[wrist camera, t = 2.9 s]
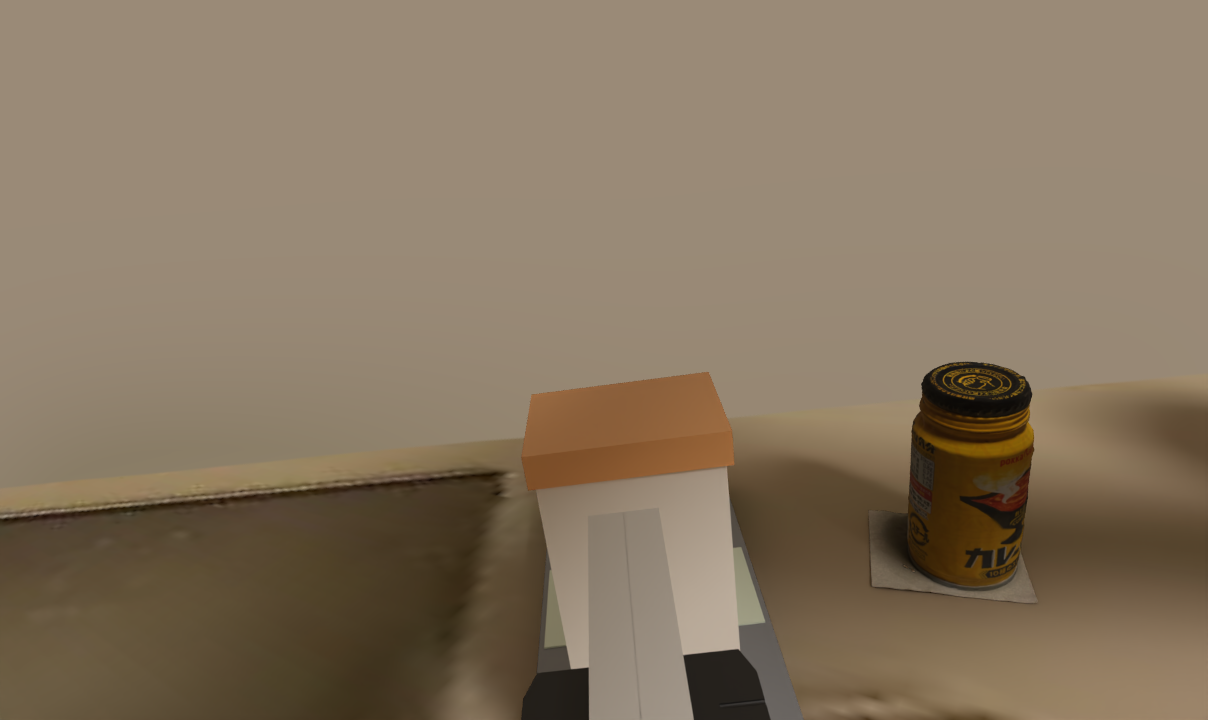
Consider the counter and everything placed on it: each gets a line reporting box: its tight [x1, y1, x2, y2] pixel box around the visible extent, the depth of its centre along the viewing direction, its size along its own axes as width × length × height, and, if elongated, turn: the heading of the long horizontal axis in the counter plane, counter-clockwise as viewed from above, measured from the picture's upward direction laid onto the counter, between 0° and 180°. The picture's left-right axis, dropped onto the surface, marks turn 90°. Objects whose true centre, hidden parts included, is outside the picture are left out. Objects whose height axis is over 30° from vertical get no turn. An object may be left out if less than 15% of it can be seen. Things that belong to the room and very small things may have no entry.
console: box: [537, 497, 804, 720], centre depth 38 cm, size 30×12×3 cm, turn 1°
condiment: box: [869, 362, 1038, 603], centre depth 41 cm, size 7×8×12 cm
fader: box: [521, 372, 740, 669], centre depth 26 cm, size 4×6×16 cm
